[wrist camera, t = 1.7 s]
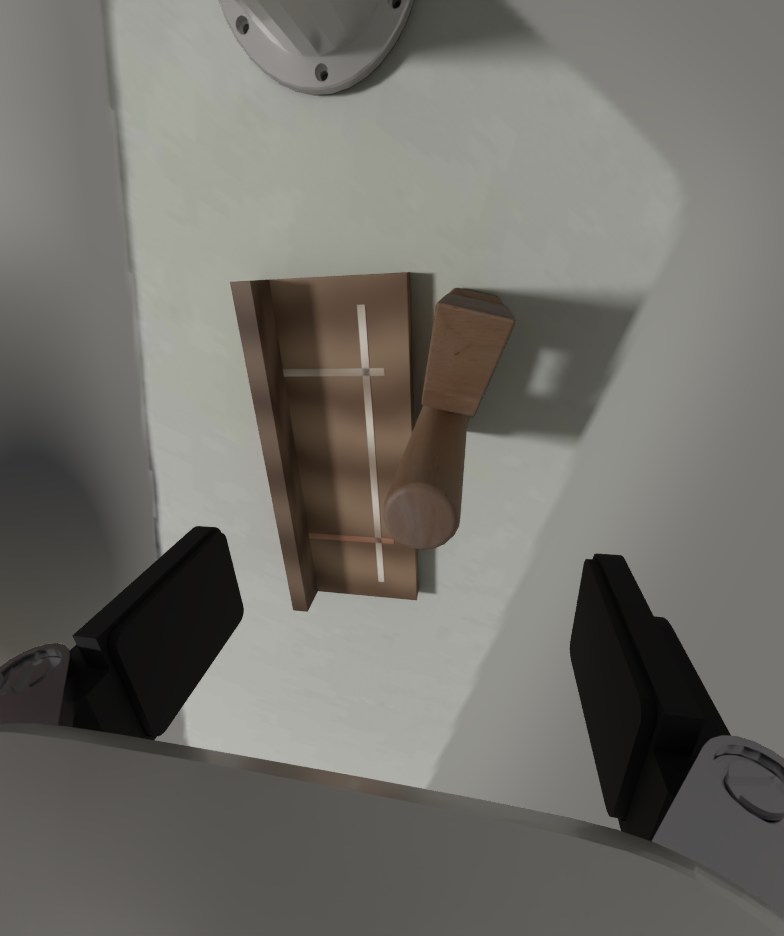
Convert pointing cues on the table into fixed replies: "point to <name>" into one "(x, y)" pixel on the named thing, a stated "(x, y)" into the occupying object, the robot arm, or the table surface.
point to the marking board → (333, 424)
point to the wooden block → (446, 418)
